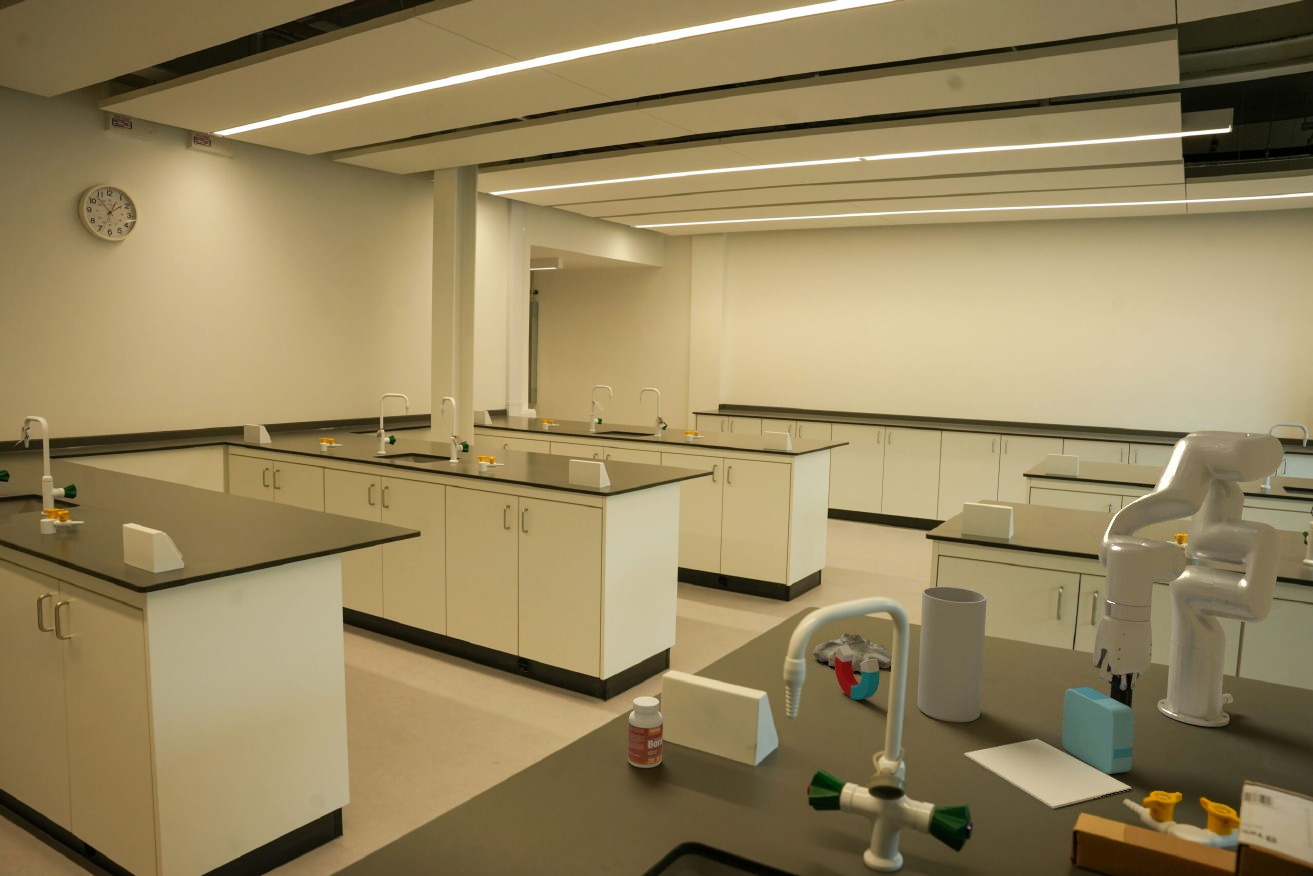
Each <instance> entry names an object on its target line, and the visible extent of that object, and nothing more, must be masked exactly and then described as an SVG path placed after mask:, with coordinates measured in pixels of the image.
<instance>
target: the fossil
mask: <svg viewBox="0 0 1313 876" xmlns="http://www.w3.org/2000/svg"><path fill="white" fill-rule="evenodd" d="M846 645H848V646H849V647H850V649H851V650H852V652H853V653H854V656H853V660H852V671H853V673H856V672H855V671H859V673H860V674H862V673H861V666H860V663H862V662H864V661H866V660H871V659H877V661H878V665H879V669H884V670H885V669H888V668H890V666H891V657H893V656H892V655H891V653H890V652H888V651H887V650H886V647H885V645H884V644H882V643H880V644H877V643H873V642H871V639H869V638H866V639H863V638H862V636H861V635H860V634H849V633H843V634H841V635H840V637H839V638H837V639H830V640H829V641H828V640H827V641H825V642H823V643H819V644H818V645H816V646H815V648H814V649H813V652H812V654H813V656H814V658H816V659H817V661H819V662H821V663H822V662H824V663H826V662H828V667H830V666H832V667H834V668H835V656H836V652H837V649H838V647H840V646H846ZM824 663H823V664H824ZM891 667H892V666H891Z"/></svg>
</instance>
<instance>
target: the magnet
mask: <svg viewBox="0 0 1313 876" xmlns="http://www.w3.org/2000/svg"><path fill="white" fill-rule="evenodd" d="M853 656H854V653H853V652H852V650H851V649H850V647H849V646H848V645H846V646H840V647H838V649H837V652H836V656H835V667H834V670H835V675H836V679H837V683H838V684H839V686H840V688H841V690H842V691H843V692H844V694H845V695H846V696H848V697H849V698H850V699H853V700H855V701H857V700H865V699H869V698H871V697H873V696H874V695H875V694H876V692H877V690H878V688H879V685H880V677H881V676H880V667H879V665H878V661H877V659H871V660H866V661H864V662H862V663H860V666H861V673H860V674H861V679H860V682H859V681H858V680H857V679H856V677H855V675H854V672H853V671H852V660H853Z"/></svg>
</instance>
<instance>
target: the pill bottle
mask: <svg viewBox="0 0 1313 876" xmlns="http://www.w3.org/2000/svg"><path fill="white" fill-rule="evenodd" d="M632 709H633V711H631V712H630V714H629V717H628V731H627V734H628V739H627V740H628V741H627V759H628V762H629V764H631V766H634V767H637V768H641V769H648V768H649V769H650V768H654V767H657V766H659V765H660V764H661V762H662V761H663V740H664V739H663V736H664V735H663V734H664V733H663V732H664V717H663V715H662V713H661V712H660V701H659V699H658V698H656V697H653V696H648V695H647V696H646V695H645V696H638V697H635V698H634V699H633V700H632Z"/></svg>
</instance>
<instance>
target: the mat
mask: <svg viewBox="0 0 1313 876" xmlns="http://www.w3.org/2000/svg"><path fill="white" fill-rule="evenodd" d="M963 756H965V757H967V758H968V759H970V760H972V761H973V762H974V763H976V764H977V765H980V766H981V767H983V768H984V769H986V770H988V771H990V772H991V773H993V774H994V775H996V776H998V777H1000V778H1001V779H1003V780H1005V781H1006V782H1008V783H1010V784H1011V785H1013V786H1014V787H1016V788H1017V789H1019V790H1021V791H1023V792H1025V793H1026V794H1028V795H1030V796H1031V797H1033V798H1034V799H1036V800H1038V801H1040V802H1041V803H1043V804H1044V805H1046V806H1048V807H1049V808H1051V809H1053V810H1054V809H1057V808H1062V807H1066V806H1069V805H1073V804H1078V803H1082V802H1086V801H1089V800H1094V798H1095V799H1099V798H1102V797H1101V796H1102V795H1106V794H1110V793H1113V792H1119V791H1123V790H1127V789H1131V790H1132V786H1129V785H1128V784H1126V783H1124V782H1122V781H1119V780H1118V779H1116V778H1115V777H1112V776H1111V775H1109V774H1105V773H1103V772H1101V771H1100V770H1098V769H1096V768H1095V767H1093V766H1091V765H1090V764H1088V763H1086V762H1084V761H1082V760H1080V759H1077V758H1076V757H1073V756H1071V755H1070V754H1068V753H1066V752H1065V751H1062V750H1060V749H1058V748H1056V747H1054V746H1052V745H1051V744H1049V743H1046V742H1044V741H1042V740H1040V739H1039V738H1035V739H1030V740H1024V741H1019V742H1014V743H1009V744H1003V745H999V746H994V747H989V748H984V749H979V750H974V751H968V752H964V754H963ZM1127 791H1128V790H1127ZM1123 792H1124V791H1123ZM1119 793H1120V792H1119ZM1098 797H1099V798H1098Z"/></svg>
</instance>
